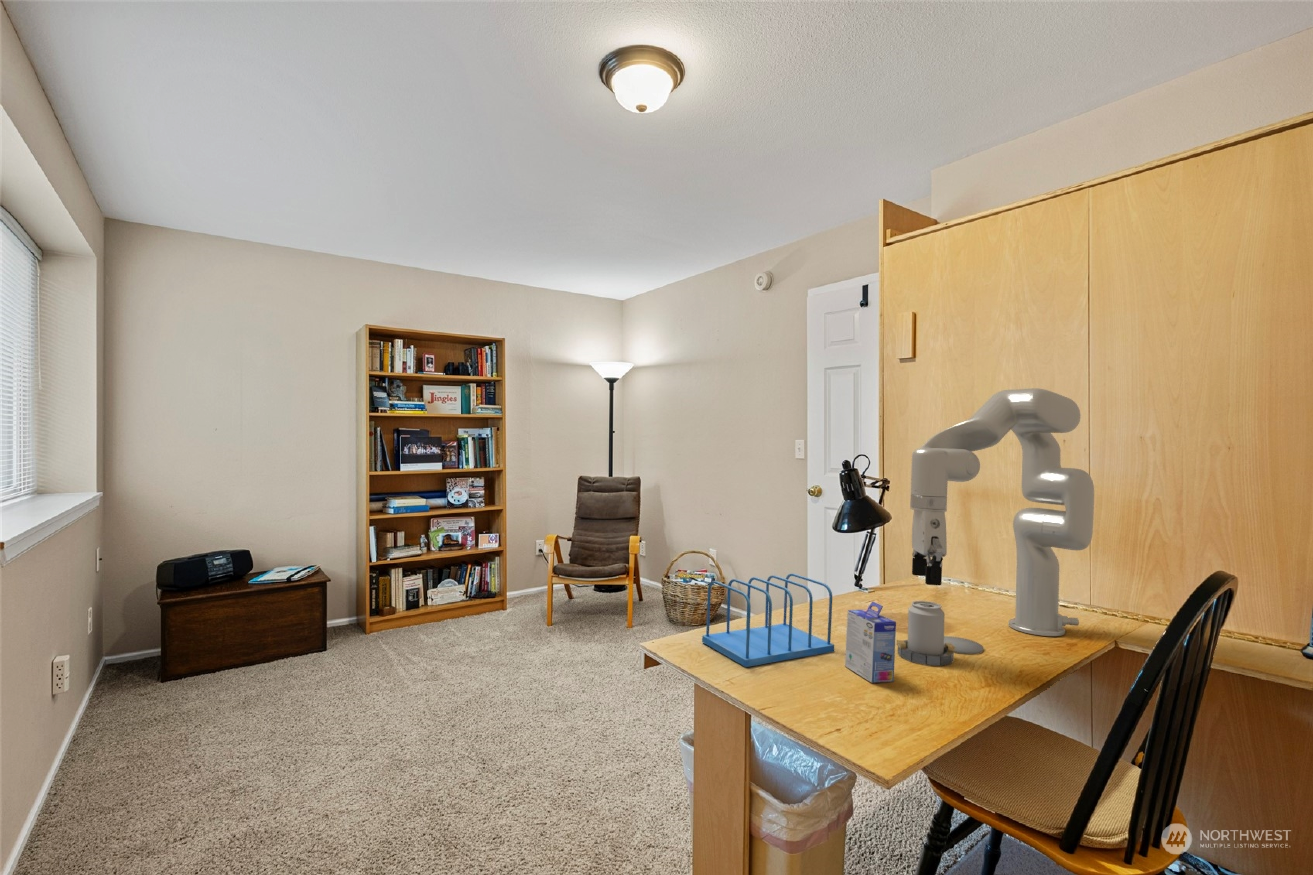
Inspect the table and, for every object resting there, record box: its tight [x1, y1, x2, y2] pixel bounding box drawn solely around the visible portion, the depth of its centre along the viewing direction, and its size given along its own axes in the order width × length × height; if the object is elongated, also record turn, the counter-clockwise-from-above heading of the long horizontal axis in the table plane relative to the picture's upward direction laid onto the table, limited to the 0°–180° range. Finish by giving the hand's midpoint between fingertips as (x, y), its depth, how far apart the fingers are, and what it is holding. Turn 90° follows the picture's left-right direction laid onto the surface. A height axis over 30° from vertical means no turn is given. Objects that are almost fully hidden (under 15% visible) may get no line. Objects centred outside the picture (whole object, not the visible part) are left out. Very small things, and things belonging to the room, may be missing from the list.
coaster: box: [944, 635, 984, 655], centre depth 147 cm, size 11×11×1 cm
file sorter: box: [701, 573, 835, 668], centre depth 143 cm, size 25×17×15 cm
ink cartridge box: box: [844, 601, 897, 684], centre depth 128 cm, size 10×6×14 cm, turn 16°
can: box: [907, 600, 945, 655], centre depth 139 cm, size 8×8×12 cm
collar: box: [896, 639, 955, 667], centre depth 139 cm, size 12×11×3 cm
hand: (926, 579), depth 139 cm, fingers open, 9 cm apart
